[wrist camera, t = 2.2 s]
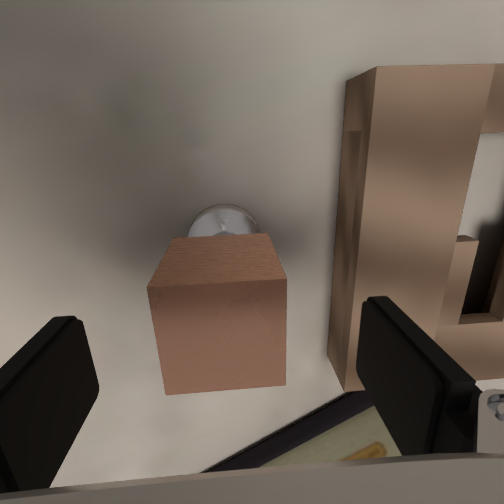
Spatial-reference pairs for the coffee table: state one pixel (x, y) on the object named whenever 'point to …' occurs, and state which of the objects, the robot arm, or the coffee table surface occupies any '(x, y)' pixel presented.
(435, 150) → the keyhole board
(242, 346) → the peg
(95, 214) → the coffee table surface
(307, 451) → the picture frame
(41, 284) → the coffee table surface
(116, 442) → the coffee table surface
